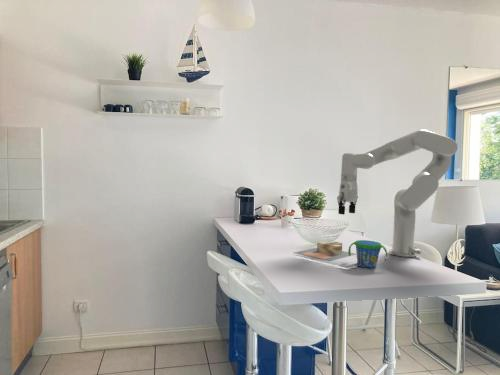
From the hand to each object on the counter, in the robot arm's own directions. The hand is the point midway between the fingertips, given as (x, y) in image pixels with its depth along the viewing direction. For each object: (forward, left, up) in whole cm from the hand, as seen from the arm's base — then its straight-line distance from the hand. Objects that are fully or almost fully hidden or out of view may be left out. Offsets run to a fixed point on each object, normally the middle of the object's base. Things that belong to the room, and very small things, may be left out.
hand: (346, 213), depth 199 cm
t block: (0, +11, -18) cm, 21 cm away
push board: (0, +17, -18) cm, 25 cm away
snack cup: (-23, +20, -19) cm, 36 cm away
